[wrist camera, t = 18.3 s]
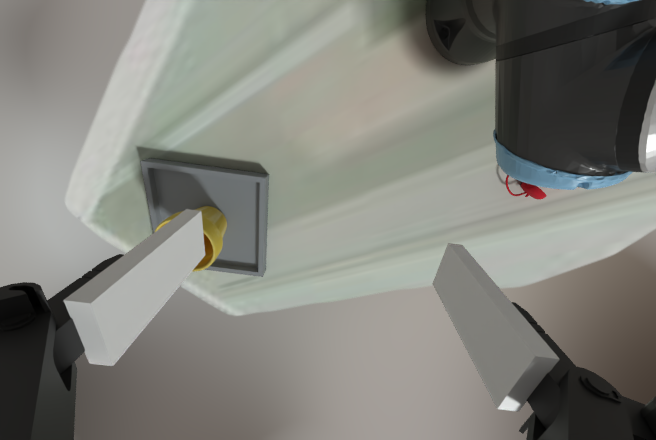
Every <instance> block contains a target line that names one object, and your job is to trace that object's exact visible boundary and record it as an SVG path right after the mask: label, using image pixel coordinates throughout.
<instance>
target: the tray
mask: <svg viewBox="0 0 656 440" xmlns="http://www.w3.org/2000/svg"><path fill="white" fill-rule="evenodd" d="M140 162H141V168H142V173H143V178H144V184H145V189H146V194H147V200H148V205H149V211H150V216H151V221H152V227H153V232H155V229H156V228H157V226H158V225H159V224H160V223H161V222H162V221H164V220H165V219H167V218H168V217H170V216H171V215H173V214H175V213H178V212H182V211H184V210H186V209H190V210H195V209H197V208H200V207H203V206H211V207H214V208H216V209H218V210H220V211H221V212H222V213H223V214H224V216H225V218H226V220H227V228H226V231H225V234H224V236H223V246H222V250H221V252H220V253H219V255H218V256H217V258H216V259H215V261H214V262H213V263H212V264H211V265H210V266H209V267H208V268H206V269H205V270H213V271H221V272H229V273H237V274H245V275H253V276H261V277H263V275H264V273H265V270H266V248H267V217H268V186H269V174H263V173H256V172H249V171H241V170H234V169H227V168H219V167H212V166H205V165H197V164H190V163H183V162H175V161H168V160H161V159H153V158H148V159H145V160H142V161H140Z"/></svg>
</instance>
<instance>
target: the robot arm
mask: <svg viewBox="0 0 656 440" xmlns="http://www.w3.org/2000/svg"><path fill="white" fill-rule="evenodd" d="M426 24H427V29H428V33H429V36H430V39H431V41H432V43H433V45H434V47H435V48H436V49H437V51H438V52H439V53H440V54H441V55H442V56H443V57H445V58H446V59H448V60H449V61H451V62H454V63H457V64H461V65H475V64H480V63H484V62H488V61H491V60H493V59H496V86H495V130H494V133H493V137H494V140H495V143H496V158H497V162H498V165H499V166H500V167H501V169H502V170H503V171H504V172H505V173H506V174H507V175H509V176H511V177H512V178H514V179H516V180H519V181H522V182H525V183H528V184H532V185H536V186H540V187H546V188H553V189H568V190H574V189H575V188H576V187H581V188H585V189H596V188H603V187H607V186H611V185H614V184H617V183H619V182H621V181H623V180H624V179H626V178H627V177H628V176H629V175H630V174H631V173H632V172H645V173H653V172H656V0H427V3H426ZM204 256H205V246H204V235H203V224H202V213H201V211H198V210H190V209H186V210H184V211H183V212H182V213H180V214H179V215H178V216H176V217H175V218H174V219H172V220H171V221H170V222H168V223H167V224H165V225H164V226H163V227H161V228H160V229H159V230H157V231H156V232H155V233H153V234H152V235H151V236H149V237H148V238H147V239H145V240H144V241H143V242H141V243H140V244H139V245H137V246H136V247H134V248H133V249H132V250H130V251H129V252H128V253H126V254H125V255H122V254H119V255H116V256H114V257H112V258H109V259H107V260H105V261H103V262H102V263H100V264H99V265H97V266H96V267H95V268H93V269H92V271H89V272H88V273H86V274H84V275H83V276H82V278H79V279H77V280H76V281H75V282H73V283H72V284H70V285H69V286H67V287H66V288H65V289H63V290H62V291H60V292H59V293H57V294H56V295H55V296H53V297H52V298H50V299H49V300H46V297H45V295H44V293H43V291H42V289H41V286H40V285H38V284H35V283H17V284H11V285H7V286H3V287H0V440H74V419H75V399H76V378H77V367H76V364H75V362H74V361H75V360H76V359H77V358H78V357H79V356H80V355H81V354H82V353H83V352H84V351H85V354H86V356H87V359H88V361H89V363H91V364H99V365H108V366H113V365H114V364H115V363H116V362H117V361H118V359H119V358H120V357H121V356H122V355H123V353H124V352H125V351H126V350H127V349H128V347H129V346H130V345H131V344H132V342H133V341H134V340H135V339H136V338H137V337H138V335H139V334H140V333H141V332H142V330H143V329H144V328H145V327H146V326H147V325H148V323H149V322H150V321H151V320H152V319H153V317H154V316H155V315H156V314H157V313H158V311H159V310H160V309H161V308H162V307H163V305H164V304H165V303H166V301H167V300H168V299H169V298H170V297H171V296H172V295H173V293H174V292H175V291H176V290H177V289H178V287H179V286H180V285H181V284H182V283H183V281H184V280H185V279H186V278H187V277H188V275H189V274H190V273H191V272H192V271H193V269H194V268H195V267H196V266H197V265H198V263H199V262H200V261H201V260H202V259H203V257H204ZM433 286H434V288H435V289H436V291H437V293H438V295H439V297H440V299H441V301H442V303H443V305H444V307H445V309H446V311H447V312H448V314H449V317H450V318H451V320H452V322H453V324H454V326H455V328H456V330H457V332H458V334H459V336H460V338H461V340H462V342H463V344H464V345H465V348H466V349H467V351H468V353H469V355H470V357H471V359H472V361H473V363H474V365H475V367H476V369H477V371H478V373H479V375H480V376H481V378H482V380H483V382H484V384H485V386H486V388H487V390H488V392H489V394H490V396H491V398H492V400H493V401H494V404H495V405H496V407H497V409H502V410H511V411H519V410H520V409H521V408H522V406H523V405H524V404H525V403H526V401H528V403H529V404H530V406H531V407H532V409H533V411H534V412H533V413H532V415H531V416H530V417H529V418H528V419H527V421H526V422H525V423H524V424H523V425H522V427H521V428H520V430H519V431H520V432H521V433H524V432H525V431H526V429H528V433H527V440H656V397H654V398H653V399H652V400H651V401H650V402H649V403H647V404H646V405H644V404H642V403H639V402H637V401H634V400H631V399H629V398H626V397H623V396H622V395H621V394H620V393H619V392H618V391H617V390H616V389H615V388H614V387H613V386H612V385H611V384H610V383H608V382H607V381H606V380H605V379H603V378H602V377H600V376H598V375H597V374H595V373H593V372H591V371H589V370H587V369H584V368H580V367H576V366H575V365H574V364H573V362H572V361H571V360H570V359H569V358H568V357H567V356H566V355H565V353H564V352H563V351H562V350H561V349H560V348H559V347H558V346H557V344H556V343H555V342H554V341H553V340H552V339H551V338H550V337H549V335H548V334H545V331H544V330H543V329H542V328H541V327H540V326H539V325H537V322H536V321H535V320H534V319H533V318H532V316H531V315H530V314H529V313H528V312H527V311H525V310H524V309H523V308H521V307H520V306H519V305H517V304H516V303H513V302H511V301H510V300H509V299H508V298H507V297H506V296H505V295H504V293H503V292H502V291H501V290H500V289H499V287H498V286H497V285H496V284H495V283H494V282H493V280H492V279H491V278H490V277H489V276H488V275H487V273H486V272H485V271H484V270H483V269H482V268H481V266H480V265H479V264H478V263H477V262H476V260H475V259H474V258H473V257H472V256H471V255H470V253H469V252H468V251H467V250H466V249H465V248H464V246H463V245H458V244H450V243H448V245H447V248H446V250H445V253H444V256H443V258H442V261H441V263H440V266H439V268H438V271H437V274H436V276H435V279H434V281H433Z"/></svg>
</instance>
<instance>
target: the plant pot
mask: <svg viewBox="0 0 656 440" xmlns="http://www.w3.org/2000/svg"><path fill="white" fill-rule="evenodd" d="M195 210H198V211H201V213H202V224H203V235H204V246H205V256H204V257H203V259H202V260H201V261H200V262H199V263H198V265H197V266H196V267H195V268H194V269H193V271H200V270H204V269H206V268H208V267H209V266H210V265H211V264H212V263H213V262H214V261H215V259H216V258H217V256H218V255H219V253H220V252H221V250H222V246H223V236H224V234H225V231H226V228H227V220H226V218H225V216H224V214H223V213H222V212H221V211H220V210H218V209H216V208H214V207H211V206H203V207H200V208H197V209H195ZM182 212H183V211H182ZM182 212H178V213H175V214H173V215H171V216H170V217H168V218H167V219H165V220H164V221H162V222H161V223H160V224H159V225H158V226H157V228H156V229H155V232H156V231H157V230H159V229H160V228H161V227H163V226H164V225H165V224H167V223H168V222H170V221H171V220H172V219H174V218H175V217H176V216H178V215H179V214H180V213H182ZM155 232H154V233H155Z"/></svg>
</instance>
